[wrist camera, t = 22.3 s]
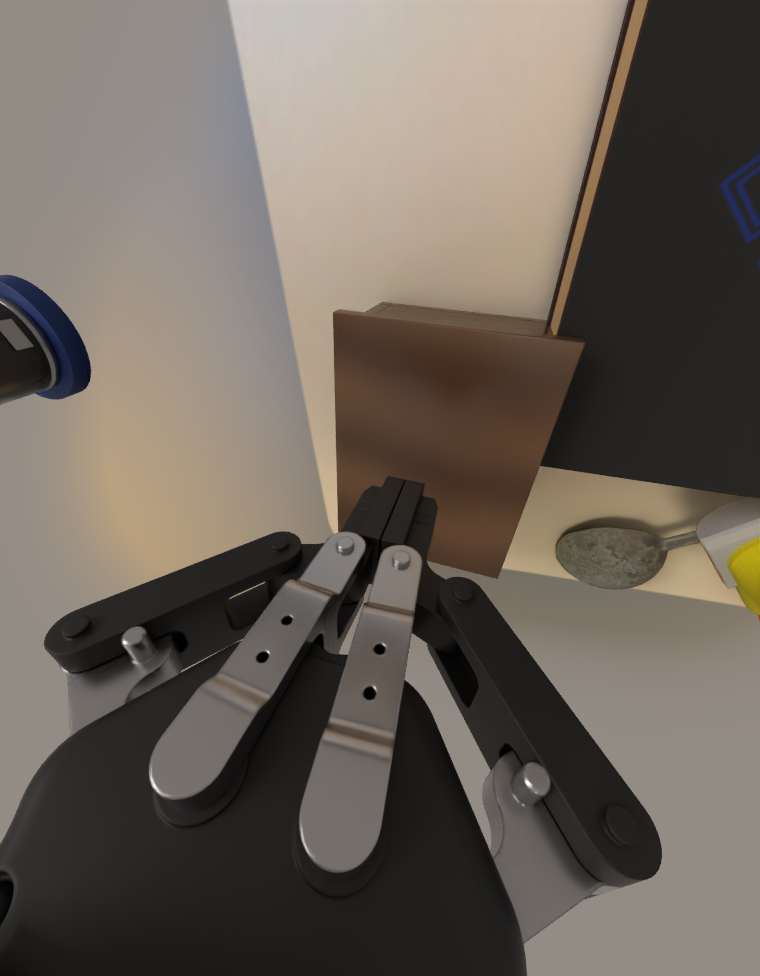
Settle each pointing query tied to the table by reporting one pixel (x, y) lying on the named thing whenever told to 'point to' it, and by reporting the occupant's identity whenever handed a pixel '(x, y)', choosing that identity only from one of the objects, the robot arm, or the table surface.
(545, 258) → the table surface
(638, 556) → the soupspoon
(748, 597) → the toy
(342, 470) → the lid
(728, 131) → the book
